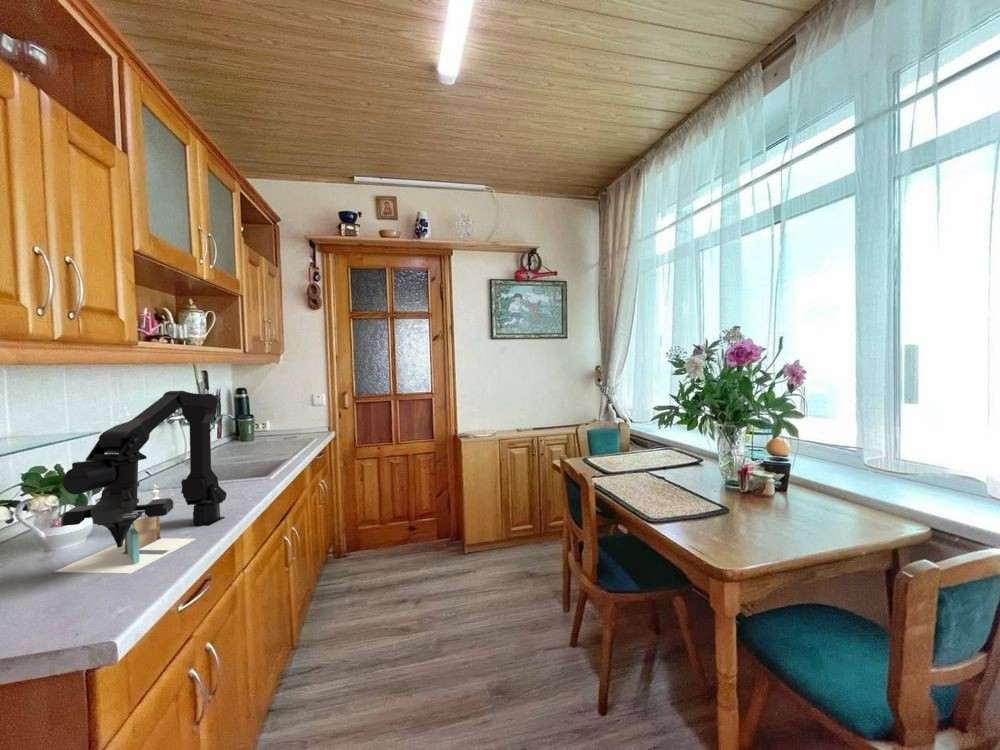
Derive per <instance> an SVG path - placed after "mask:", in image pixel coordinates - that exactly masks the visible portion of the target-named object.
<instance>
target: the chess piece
mask: <svg viewBox="0 0 1000 750" xmlns="http://www.w3.org/2000/svg"><path fill="white" fill-rule="evenodd" d="M158 488H159V486H157V485H156V484H153V486H152V487H151V488H150V489H152V490H151V491H150V493H151V496H152V498H151V499H150V500H151V501H152V500H155V499H160V497H159V492H160V490H159V489H158ZM145 517H148V516H147V515H145Z"/></svg>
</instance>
